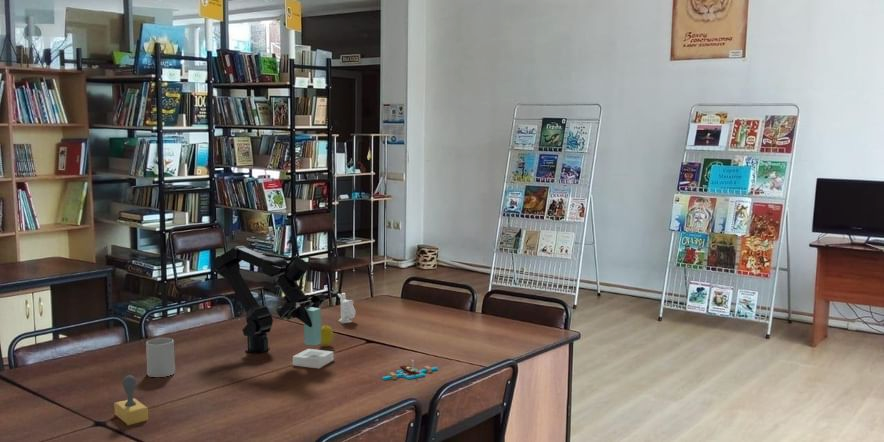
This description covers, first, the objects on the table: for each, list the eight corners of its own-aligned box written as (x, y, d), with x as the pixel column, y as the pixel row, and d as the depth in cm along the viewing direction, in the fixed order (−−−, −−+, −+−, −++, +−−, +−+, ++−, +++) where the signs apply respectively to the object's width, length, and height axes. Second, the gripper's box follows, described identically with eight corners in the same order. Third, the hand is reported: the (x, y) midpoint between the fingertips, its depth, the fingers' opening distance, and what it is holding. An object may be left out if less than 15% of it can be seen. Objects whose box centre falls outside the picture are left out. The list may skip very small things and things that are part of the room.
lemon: (330, 348, 279) (330, 327, 278) (316, 347, 280) (315, 326, 279) (335, 344, 284) (335, 323, 283) (321, 343, 285) (321, 322, 284)
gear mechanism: (375, 376, 249) (389, 384, 241) (375, 360, 248) (388, 367, 241) (428, 366, 260) (443, 373, 252) (428, 350, 259) (443, 357, 251)
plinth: (292, 365, 259) (292, 356, 259) (308, 357, 268) (308, 348, 268) (318, 368, 256) (318, 359, 255) (333, 360, 265) (333, 351, 265)
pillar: (304, 343, 261) (303, 309, 259) (312, 341, 264) (311, 307, 262) (313, 345, 258) (312, 310, 257) (321, 343, 262) (320, 308, 260)
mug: (178, 375, 248) (177, 342, 247) (151, 380, 243) (150, 346, 242) (167, 365, 258) (166, 334, 257) (141, 370, 253) (139, 338, 252)
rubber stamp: (114, 415, 214) (112, 373, 213) (135, 410, 218) (133, 369, 216) (127, 425, 207) (124, 382, 205) (148, 420, 210) (146, 377, 209)
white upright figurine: (332, 321, 317) (332, 293, 316) (345, 319, 322) (345, 291, 321) (345, 325, 312) (345, 296, 310) (358, 322, 316) (358, 294, 315)
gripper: (297, 298, 276) (321, 333, 271) (259, 308, 260) (284, 345, 255) (313, 279, 271) (338, 314, 266) (276, 288, 255) (301, 325, 250)
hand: (315, 325), depth 260 cm, fingers closed on pillar, 4 cm apart
